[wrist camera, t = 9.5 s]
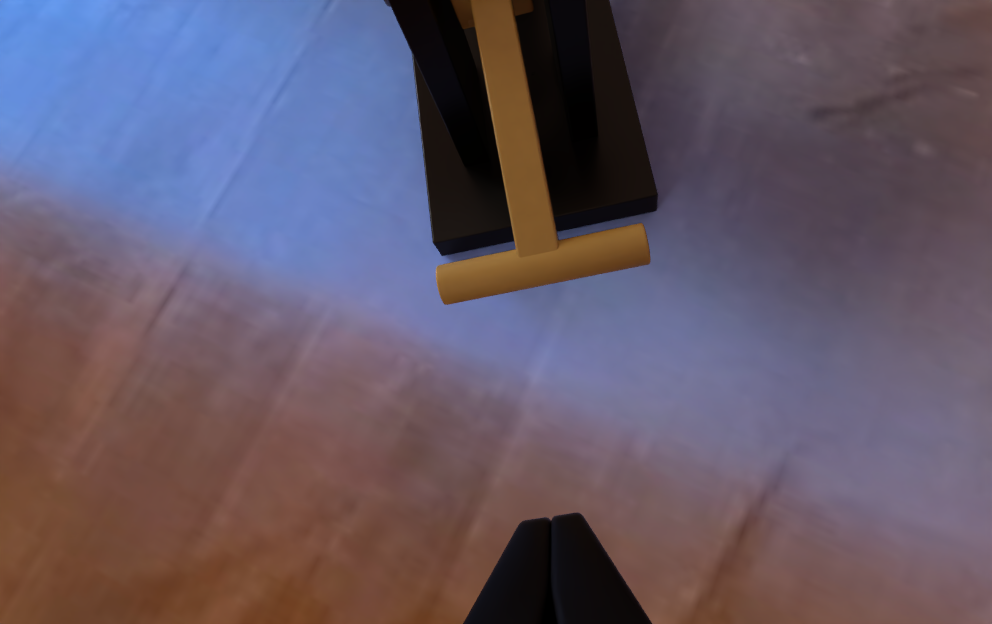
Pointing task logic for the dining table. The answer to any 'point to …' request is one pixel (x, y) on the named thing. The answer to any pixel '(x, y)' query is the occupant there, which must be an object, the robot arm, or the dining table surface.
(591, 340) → the dining table surface
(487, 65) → the tap lever
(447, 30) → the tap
